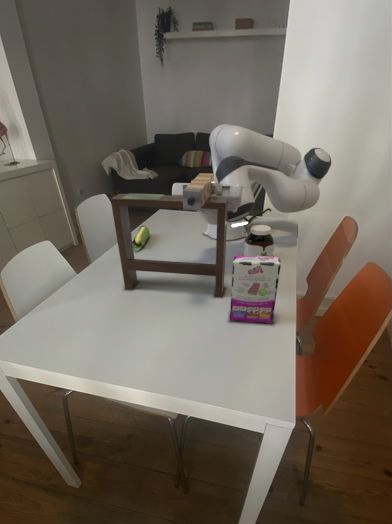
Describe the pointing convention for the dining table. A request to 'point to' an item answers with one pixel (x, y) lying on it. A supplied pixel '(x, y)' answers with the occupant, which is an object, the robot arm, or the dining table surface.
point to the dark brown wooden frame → (134, 265)
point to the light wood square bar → (197, 192)
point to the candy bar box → (254, 288)
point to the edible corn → (140, 237)
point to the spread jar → (259, 241)
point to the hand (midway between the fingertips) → (203, 183)
